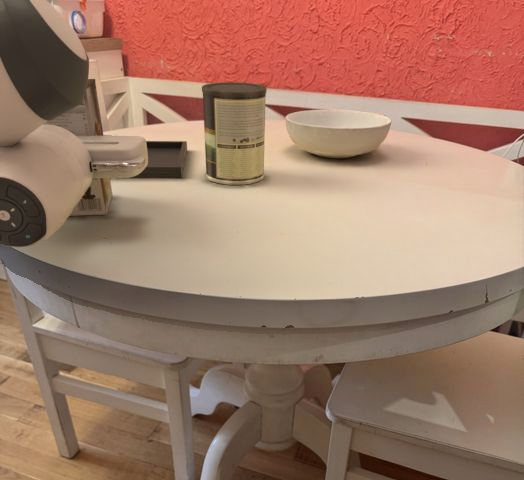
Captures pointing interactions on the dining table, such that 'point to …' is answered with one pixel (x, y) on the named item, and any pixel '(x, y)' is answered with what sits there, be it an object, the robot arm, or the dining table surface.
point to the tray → (164, 159)
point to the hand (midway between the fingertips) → (78, 140)
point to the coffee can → (234, 132)
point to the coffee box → (88, 124)
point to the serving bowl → (337, 131)
